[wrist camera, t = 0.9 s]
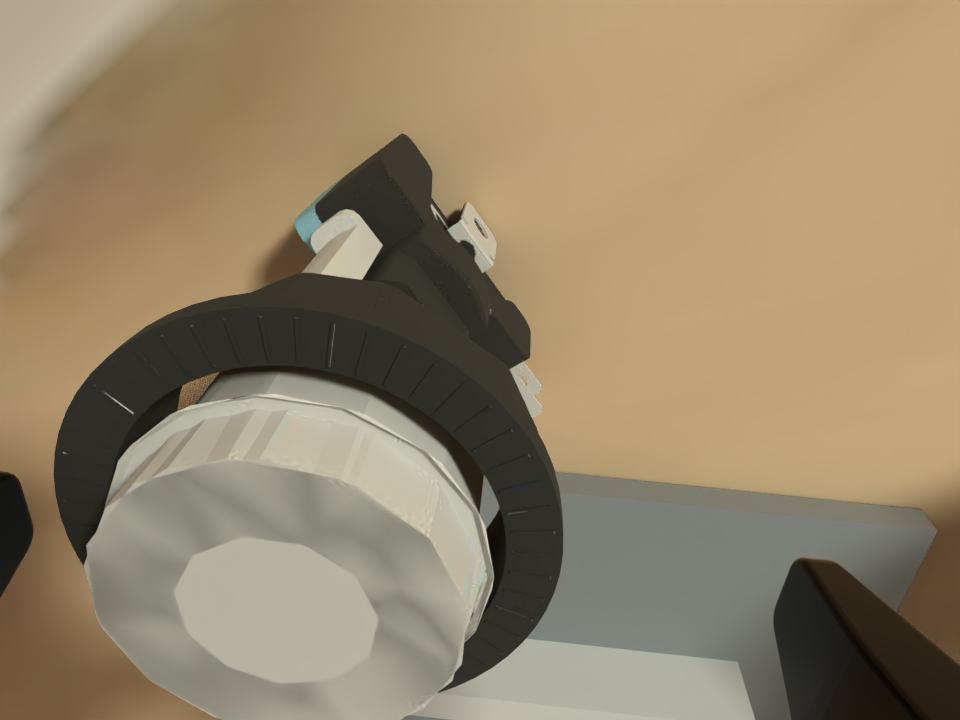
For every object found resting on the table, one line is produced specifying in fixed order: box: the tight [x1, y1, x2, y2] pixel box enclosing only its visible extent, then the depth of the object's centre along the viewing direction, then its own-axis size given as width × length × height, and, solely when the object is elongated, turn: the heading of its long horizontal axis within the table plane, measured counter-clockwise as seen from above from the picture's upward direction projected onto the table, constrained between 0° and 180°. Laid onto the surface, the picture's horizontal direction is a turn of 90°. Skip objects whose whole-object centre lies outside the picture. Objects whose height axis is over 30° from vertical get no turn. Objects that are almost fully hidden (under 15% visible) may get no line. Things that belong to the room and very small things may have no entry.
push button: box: [54, 134, 563, 720], centre depth 11 cm, size 7×5×10 cm
